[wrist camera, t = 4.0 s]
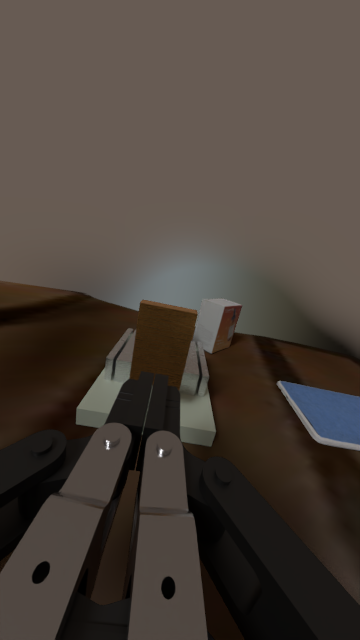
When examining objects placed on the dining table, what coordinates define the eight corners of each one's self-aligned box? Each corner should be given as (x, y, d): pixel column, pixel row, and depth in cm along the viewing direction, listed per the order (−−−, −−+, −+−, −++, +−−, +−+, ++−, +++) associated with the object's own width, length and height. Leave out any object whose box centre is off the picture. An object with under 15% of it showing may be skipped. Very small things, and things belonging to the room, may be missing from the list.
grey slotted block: (203, 397, 25) (209, 376, 24) (104, 379, 24) (106, 357, 23) (197, 357, 34) (201, 342, 33) (126, 344, 34) (128, 328, 33)
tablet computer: (314, 446, 24) (318, 438, 24) (273, 383, 36) (276, 377, 36) (467, 477, 25) (474, 470, 24) (376, 405, 37) (380, 399, 36)
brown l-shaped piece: (178, 392, 20) (197, 313, 17) (128, 383, 19) (140, 302, 17) (180, 338, 32) (191, 289, 30) (149, 333, 32) (158, 282, 30)
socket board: (211, 446, 21) (231, 386, 18) (75, 424, 20) (79, 359, 18) (197, 355, 40) (206, 320, 38) (127, 342, 39) (132, 305, 37)
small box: (211, 354, 41) (224, 306, 38) (190, 343, 45) (201, 298, 41) (230, 347, 47) (243, 304, 44) (211, 337, 51) (222, 297, 47)
